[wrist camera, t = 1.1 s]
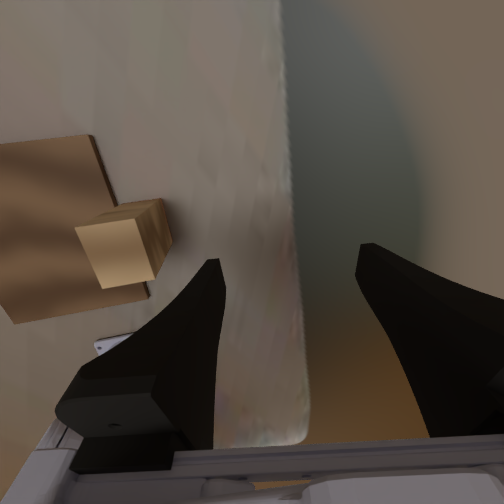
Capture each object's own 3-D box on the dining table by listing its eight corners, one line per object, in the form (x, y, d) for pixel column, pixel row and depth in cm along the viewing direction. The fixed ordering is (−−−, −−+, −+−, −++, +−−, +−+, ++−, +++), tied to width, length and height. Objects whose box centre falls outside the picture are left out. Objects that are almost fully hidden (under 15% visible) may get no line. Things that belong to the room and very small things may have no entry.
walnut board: (149, 295, 28) (148, 299, 27) (19, 319, 26) (14, 324, 26) (92, 135, 21) (87, 134, 20) (-92, 155, 19) (-104, 155, 19)
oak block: (172, 241, 26) (155, 279, 18) (137, 247, 26) (102, 289, 17) (160, 198, 24) (134, 218, 16) (122, 203, 24) (74, 227, 15)
